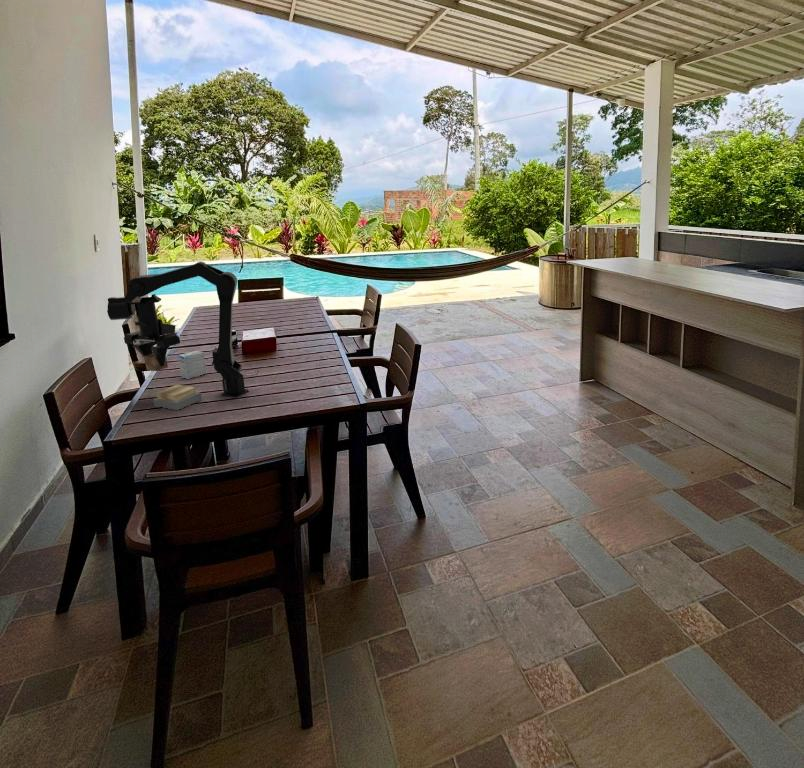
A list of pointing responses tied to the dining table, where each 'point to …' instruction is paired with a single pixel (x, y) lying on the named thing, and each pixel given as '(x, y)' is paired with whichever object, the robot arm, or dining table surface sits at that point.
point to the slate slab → (178, 404)
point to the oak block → (176, 393)
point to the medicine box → (192, 364)
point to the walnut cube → (154, 363)
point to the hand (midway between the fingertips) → (156, 365)
